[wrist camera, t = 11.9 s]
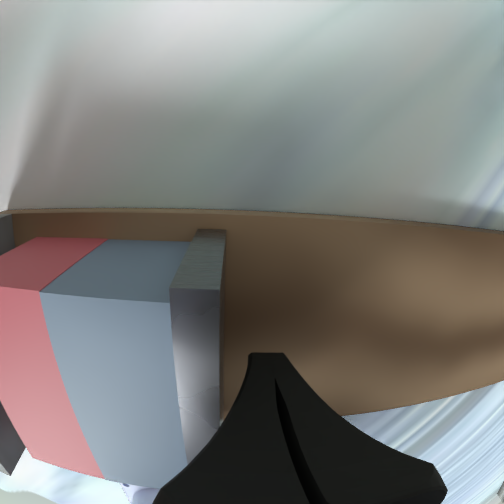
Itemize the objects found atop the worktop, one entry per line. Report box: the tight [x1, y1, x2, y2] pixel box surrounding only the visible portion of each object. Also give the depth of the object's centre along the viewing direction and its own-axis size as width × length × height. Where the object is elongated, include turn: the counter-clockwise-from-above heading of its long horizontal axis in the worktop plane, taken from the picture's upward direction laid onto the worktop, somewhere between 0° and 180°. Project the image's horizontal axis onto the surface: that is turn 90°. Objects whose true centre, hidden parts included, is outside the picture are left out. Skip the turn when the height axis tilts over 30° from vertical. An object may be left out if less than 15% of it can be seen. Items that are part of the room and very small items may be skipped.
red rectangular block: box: [0, 237, 108, 479], centre depth 10 cm, size 8×4×5 cm, turn 177°
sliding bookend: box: [169, 229, 226, 464], centre depth 10 cm, size 9×1×5 cm, turn 177°
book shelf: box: [0, 208, 504, 476], centre depth 11 cm, size 10×30×7 cm, turn 87°
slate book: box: [39, 239, 191, 489], centre depth 10 cm, size 8×4×5 cm, turn 177°
